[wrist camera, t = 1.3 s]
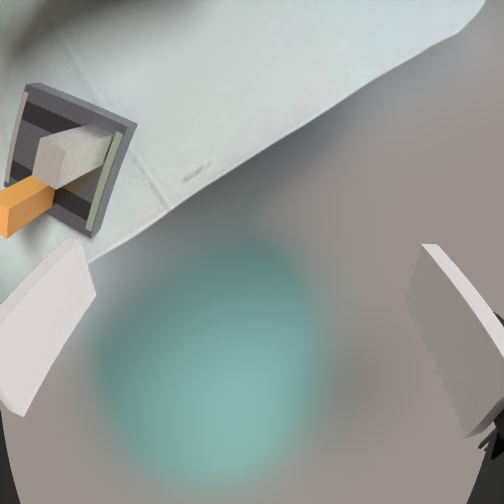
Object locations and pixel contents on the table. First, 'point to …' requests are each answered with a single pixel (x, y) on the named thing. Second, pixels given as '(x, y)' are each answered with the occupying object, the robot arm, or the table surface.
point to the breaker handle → (23, 204)
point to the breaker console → (69, 153)
